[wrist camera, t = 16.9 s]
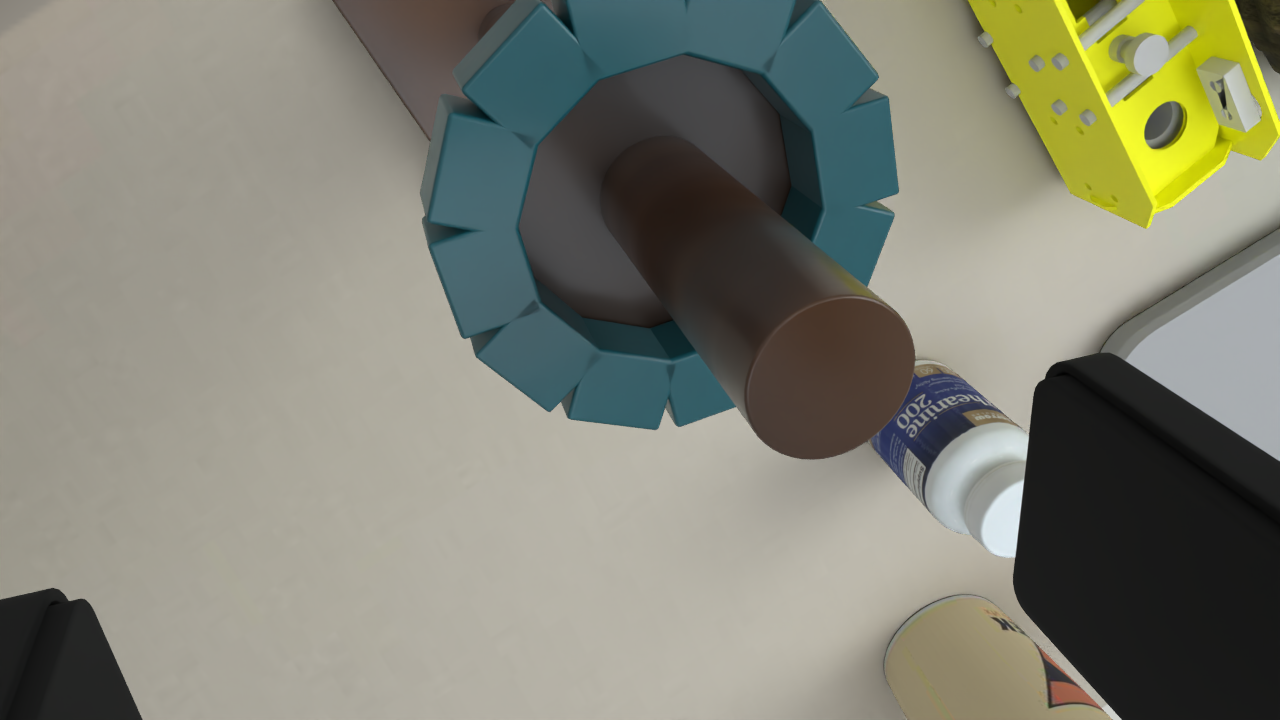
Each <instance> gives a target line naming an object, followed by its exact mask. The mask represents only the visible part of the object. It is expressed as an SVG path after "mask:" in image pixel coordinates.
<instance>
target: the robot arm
mask: <svg viewBox="0 0 1280 720" xmlns="http://www.w3.org/2000/svg"><path fill="white" fill-rule="evenodd" d="M1013 585H1014V590H1015V594H1016V597H1017V600H1018V602H1019V604H1020V605H1021V607H1022V609H1023V610H1024V611H1025V613H1026V614H1027V615H1028V616H1029V617H1030V619H1031V620H1032V621H1033V622H1034V623H1035V624H1036V625H1037V626H1038V627H1039V629H1040V630H1041V631H1042V632H1043V633H1044V634H1045V635H1046V636H1047V637H1048V638H1049V640H1050V641H1051V642H1052V643H1053V644H1054V645H1055V646H1056V647H1057V648H1058V650H1059V651H1060V652H1061V653H1062V654H1063V655H1064V656H1065V657H1066V658H1067V659H1068V661H1069V662H1070V663H1071V664H1072V665H1073V666H1074V667H1075V668H1076V669H1077V671H1078V672H1079V673H1080V674H1081V675H1082V676H1083V677H1084V678H1085V679H1086V681H1087V682H1088V683H1089V684H1090V685H1091V686H1092V687H1093V688H1094V689H1095V690H1096V692H1097V693H1098V694H1099V695H1100V696H1101V697H1102V698H1103V699H1104V700H1105V702H1106V703H1107V704H1108V705H1109V706H1110V707H1111V708H1112V709H1113V710H1114V711H1115V713H1116V714H1117V715H1118V716H1119V717H1120V718H1121V719H1122V720H1280V461H1279V460H1277V459H1276V458H1274V457H1272V456H1271V455H1269V454H1268V453H1266V452H1265V451H1263V450H1262V449H1260V448H1259V447H1257V446H1256V445H1254V444H1252V443H1251V442H1249V441H1248V440H1246V439H1245V438H1243V437H1242V436H1240V435H1239V434H1237V433H1236V432H1234V431H1232V430H1231V429H1229V428H1228V427H1226V426H1225V425H1223V424H1222V423H1220V422H1219V421H1217V420H1216V419H1214V418H1212V417H1211V416H1209V415H1208V414H1206V413H1205V412H1203V411H1202V410H1200V409H1199V408H1197V407H1196V406H1194V405H1192V404H1191V403H1189V402H1188V401H1186V400H1185V399H1183V398H1182V397H1180V396H1179V395H1177V394H1176V393H1174V392H1172V391H1171V390H1169V389H1168V388H1166V387H1165V386H1163V385H1162V384H1160V383H1159V382H1157V381H1156V380H1154V379H1152V378H1151V377H1149V376H1148V375H1146V374H1145V373H1143V372H1142V371H1140V370H1139V369H1137V368H1136V367H1134V366H1132V365H1131V364H1129V363H1128V362H1126V361H1125V360H1123V359H1122V358H1120V357H1119V356H1117V355H1114V354H1112V353H1110V352H1108V353H1098V354H1093V355H1089V356H1084V357H1080V358H1075V359H1071V360H1066V361H1062V362H1058V363H1056V364H1054V365H1052V366H1051V367H1050V369H1049V370H1048V372H1047V373H1046V377H1045V379H1044V380H1042V381H1040V382H1039V383H1038V385H1037V386H1036V388H1035V392H1034V396H1033V405H1032V414H1031V423H1030V432H1029V441H1028V449H1027V458H1026V467H1025V476H1024V485H1023V494H1022V503H1021V511H1020V520H1019V529H1018V538H1017V547H1016V556H1015V564H1014V573H1013ZM0 720H142V718H141V715H140V713H139V711H138V709H137V706H136V704H135V702H134V700H133V697H132V695H131V693H130V691H129V688H128V686H127V684H126V682H125V679H124V677H123V675H122V673H121V671H120V668H119V666H118V664H117V662H116V659H115V657H114V655H113V653H112V650H111V648H110V646H109V644H108V641H107V639H106V637H105V635H104V632H103V630H102V628H101V626H100V623H99V621H98V619H97V617H96V614H95V612H94V610H93V608H92V607H91V605H90V603H88V602H87V601H86V600H85V599H77V600H73V601H68V599H67V598H66V596H65V595H64V594H63V593H62V592H61V591H60V590H59V589H55V588H51V589H46V590H42V591H37V592H33V593H28V594H24V595H19V596H15V597H11V598H6V599H2V600H0Z"/></svg>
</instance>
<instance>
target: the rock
mask: <svg viewBox="0 0 1280 720" xmlns="http://www.w3.org/2000/svg"><path fill="white" fill-rule="evenodd" d="M1235 3H1236V5H1237V8H1238V11H1239V14H1240V16H1241V19H1242V22H1243V24H1244V27H1245V30H1246V32H1247V35H1248V37H1249V38H1250V39H1251V41H1252V42H1253V43H1254V45H1255V46H1256V47H1257V49H1259V50H1260V51H1262V52H1263V53H1264V55H1265V56H1266V58H1267V60H1268V61H1269V63H1270V65H1271V67H1272V68H1273V69H1274V71H1276V72H1277V73H1279V74H1280V0H1235Z"/></svg>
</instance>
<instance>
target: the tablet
mask: <svg viewBox="0 0 1280 720" xmlns="http://www.w3.org/2000/svg"><path fill="white" fill-rule="evenodd" d="M1108 352H1110V353H1112V354H1114V355H1117V356H1119V357H1120V358H1122V359H1123V360H1125V361H1126V362H1128V363H1129V364H1131V365H1132V366H1134V367H1136V368H1137V369H1139V370H1140V371H1142V372H1143V373H1145V374H1146V375H1148V376H1149V377H1151V378H1152V379H1154V380H1156V381H1157V382H1159V383H1160V384H1162V385H1163V386H1165V387H1166V388H1168V389H1169V390H1171V391H1172V392H1174V393H1176V394H1177V395H1179V396H1180V397H1182V398H1183V399H1185V400H1186V401H1188V402H1189V403H1191V404H1192V405H1194V406H1196V407H1197V408H1199V409H1200V410H1202V411H1203V412H1205V413H1206V414H1208V415H1209V416H1211V417H1212V418H1214V419H1216V420H1217V421H1219V422H1220V423H1222V424H1223V425H1225V426H1226V427H1228V428H1229V429H1231V430H1232V431H1234V432H1236V433H1237V434H1239V435H1240V436H1242V437H1243V438H1245V439H1246V440H1248V441H1249V442H1251V443H1252V444H1254V445H1256V446H1257V447H1259V448H1260V449H1262V450H1263V451H1265V452H1266V453H1268V454H1269V455H1271V456H1272V457H1274V458H1276V459H1277V460H1279V461H1280V228H1279V229H1277V230H1276V231H1274V232H1272V233H1271V234H1269V235H1268V236H1266V237H1264V238H1263V239H1261V240H1259V241H1258V242H1256V243H1255V244H1253V245H1251V246H1250V247H1248V248H1246V249H1245V250H1243V251H1241V252H1240V253H1238V254H1237V255H1235V256H1233V257H1232V258H1230V259H1228V260H1227V261H1225V262H1224V263H1222V264H1220V265H1219V266H1217V267H1215V268H1214V269H1212V270H1211V271H1209V272H1207V273H1206V274H1204V275H1202V276H1201V277H1199V278H1197V279H1196V280H1194V281H1193V282H1191V283H1189V284H1188V285H1186V286H1184V287H1183V288H1181V289H1180V290H1178V291H1176V292H1175V293H1173V294H1171V295H1170V296H1168V297H1166V298H1165V299H1163V300H1162V301H1160V302H1158V303H1157V304H1155V305H1153V306H1152V307H1150V308H1149V309H1147V310H1145V311H1144V312H1142V313H1140V314H1139V315H1137V316H1135V317H1134V318H1132V319H1131V320H1129V321H1127V322H1126V323H1125V324H1123V325H1122V326H1121V327H1119V328H1118V329H1117V330H1116V331H1115V332H1114V333H1113V334H1112V335H1111V336H1110V337H1109V339H1108V340H1107V342H1106V343H1105V344H1104V346H1103V348H1102V350H1101V352H1100V353H1108Z"/></svg>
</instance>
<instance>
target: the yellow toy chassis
mask: <svg viewBox="0 0 1280 720" xmlns="http://www.w3.org/2000/svg"><path fill="white" fill-rule="evenodd" d="M968 2H969V4H970V6H971V7H972V9H973V11H974V13H975V15H976V17H977V19H978V21H979V22H980V24H981V26H982V28H983V30H984V32H983V33H982V34H981V35H980V36H979V37H978V40H979V42H980V43H981V44H982V45H983V46H984V47H986V48H987V47H988V46H989V45H990V44H991V45H992V47H993V49H994V50H995V52H996V54H997V56H998V58H999V60H1000V62H1001V64H1002V65H1003V67H1004V69H1005V71H1006V73H1007V75H1008V77H1009V79H1010V80H1011V82H1012V83H1011V84H1010V85H1009V86H1008V87H1007V88H1006V92H1007V94H1008V95H1009V96H1010V97H1012V98H1015V97H1017V96H1018V95H1019V97H1020V99H1021V101H1022V103H1023V105H1024V107H1025V109H1026V110H1027V112H1028V114H1029V116H1030V118H1031V120H1032V122H1033V124H1034V125H1035V127H1036V129H1037V131H1038V133H1039V135H1040V137H1041V139H1042V140H1043V142H1044V144H1045V146H1046V148H1047V150H1048V152H1049V154H1050V155H1051V157H1052V159H1053V161H1054V163H1055V165H1056V167H1057V169H1058V170H1059V172H1060V174H1061V176H1062V178H1063V180H1064V182H1065V184H1066V185H1067V187H1068V189H1069V191H1070V193H1071V194H1073V195H1075V196H1077V197H1079V198H1081V199H1083V200H1086V201H1088V202H1090V203H1092V204H1094V205H1096V206H1098V207H1100V208H1102V209H1104V210H1107V211H1109V212H1111V213H1113V214H1115V215H1118V216H1120V217H1122V218H1124V219H1126V220H1128V221H1130V222H1132V223H1135V224H1137V225H1139V226H1141V227H1143V228H1145V229H1147V228H1148V227H1149V226H1150V225H1151V222H1152V219H1153V216H1154V214H1155V213H1158V212H1160V211H1163V210H1166V209H1168V208H1171V207H1173V206H1174V205H1175V204H1177V203H1178V202H1179V201H1180V200H1182V199H1183V198H1184V197H1185V196H1186V195H1188V194H1189V193H1190V192H1191V191H1193V190H1194V189H1195V188H1196V187H1198V186H1199V185H1200V184H1201V183H1202V182H1204V181H1205V180H1206V179H1207V178H1209V177H1210V176H1211V175H1212V174H1214V173H1215V172H1216V171H1217V170H1219V169H1220V168H1221V167H1222V166H1223V165H1225V163H1226V160H1227V158H1228V155H1229V153H1230V151H1234V152H1237V153H1240V154H1243V155H1246V156H1249V157H1252V158H1255V159H1258V160H1262V159H1263V158H1265V157H1266V155H1267V154H1268V152H1269V151H1270V150H1271V148H1272V147H1273V145H1274V144H1275V143H1276V141H1277V140H1278V138H1279V137H1280V121H1279V119H1278V116H1277V113H1276V111H1275V108H1274V105H1273V103H1272V100H1271V97H1270V94H1269V92H1268V89H1267V86H1266V84H1265V81H1264V78H1263V76H1262V73H1261V70H1260V67H1259V65H1258V62H1257V59H1256V57H1255V54H1254V51H1253V49H1252V46H1251V43H1250V40H1249V38H1248V35H1247V32H1246V30H1245V27H1244V24H1243V22H1242V19H1241V16H1240V14H1239V11H1238V8H1237V5H1236V3H1235V0H968ZM1252 95H1253V96H1254V97H1255V99H1256V100H1257V101H1258V103H1259V105H1260V107H1261V110H1262V116H1261V117H1260V115H1259V113H1258V110H1257V107H1256V105H1255V102H1254V100H1253V97H1252Z"/></svg>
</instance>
